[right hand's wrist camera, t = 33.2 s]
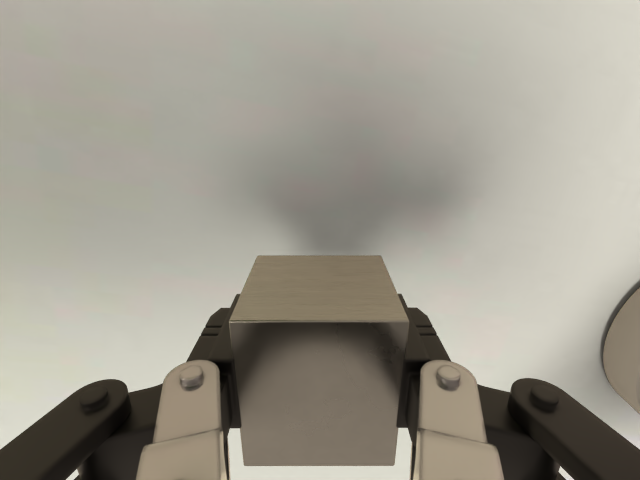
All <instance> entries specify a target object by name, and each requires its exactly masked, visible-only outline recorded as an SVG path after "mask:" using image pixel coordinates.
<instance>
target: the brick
mask: <svg viewBox="0 0 640 480" xmlns="http://www.w3.org/2000/svg"><path fill="white" fill-rule="evenodd" d="M229 328H230V337H231V347H232V357H233V359H234V360H235V370H236V379H237V389H238V399H239V408H240V418H241V428H240V433H241V442H242V452H243V462H244V466H393V465H394V464H395V455H396V445H397V435H398V428H397V427H396V425H397V415H398V405H399V395H400V385H401V375H402V365H403V359H405V358H406V348H407V338H408V328H409V320H408V317H407V315H406V313H405V310H404V308H403V306H402V303H401V301H400V299H399V297H398V294H397V292H396V290H395V287H394V285H393V283H392V280H391V278H390V276H389V273H388V271H387V269H386V266H385V264H384V262H383V259H382V257H381V256H257V258H256V260H255V262H254V265H253V267H252V269H251V272H250V274H249V276H248V278H247V281H246V283H245V285H244V288H243V290H242V292H241V295H240V297H239V299H238V302H237V304H236V306H235V308H234V311H233V313H232V315H231V318H230V320H229Z"/></svg>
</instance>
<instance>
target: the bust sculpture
mask: <svg viewBox="0 0 640 480" xmlns="http://www.w3.org/2000/svg"><path fill="white" fill-rule="evenodd" d="M603 363H604V369H605V373H606V376H607V378H608V381H609V383H610V384H611V386H612V387H613V389H614V390H615V391H616V392H617V393H618V394H619V395H620V396H621V397H622V398H623V399H624V400H625V401H626V402H627V403H628V404H629V405H631V406H632V407H633V408H634V409H635V410H636V411H637V412H638V413H639V414H640V288H639V289H638V290H637V291H636V292H635V293H634V294H633V295H632V296H631V297H630V298H629V299H628V300H627V302H626V303H625V304H624V305H623V307H622V308H621V309H620V311H619V312H618V314H617V316H616V317H615V319H614V321H613V323H612V325H611V327H610V329H609V331H608V334H607V337H606V341H605V345H604V352H603Z"/></svg>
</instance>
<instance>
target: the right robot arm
mask: <svg viewBox="0 0 640 480" xmlns="http://www.w3.org/2000/svg"><path fill="white" fill-rule="evenodd" d="M240 295H241V294H237V295H236V297H235V299H234V301H233V303H232V305H231V308H221V309H219V310H218V311H217V312H215V313H214V314H213V315H212V316H211V317H210V318H209V320H208V322H207V324H206V327H205V328H204V330H203V332H202V333H201V336H200V337H199V339H198V341H197V343H196V345H195V347H194V348H193V350H192V352H191V354H190V356H189V358H188V360H187V361H186V363H183V364H181V365H179V366H177V367H175V368H174V369H173V370H171V371H170V372H169V373H168V374H167V376H166V377H165V379H164V382H163V384H160V385H158V386H155V387H151V388H147V389H143V390H138V391H134V392H130V393H128V389H127V386H126V384H125V383H123V382H122V381H120V380H115V379H107V380H101V381H97V382H94V383H91V384H88V385H86V386H84V387H82V388H81V389H79V390H77V391H76V392H74V393H73V394H72V395H70V396H69V397H68V398H67V399H65V400H64V401H63V402H61V403H60V404H59V405H58V406H56V407H55V408H54V409H52V410H51V411H50V412H48V413H47V414H46V415H45V416H43V417H42V418H41V419H39V420H38V421H37V422H35V423H34V424H33V425H32V426H30V427H29V428H28V429H26V430H25V431H24V432H23V433H21V434H20V435H19V436H17V437H16V438H15V439H13V440H12V441H11V442H10V443H8V444H7V445H6V446H4V447H3V448H2V449H1V450H0V480H66V479H67V478H68V477H69V476H70V475H71V474H72V473H73V472H74V471H75V470H76V469H77V470H78V473H79V475H78V476H77V477H76V478H75V479H74V480H230V461H229V446H228V438H227V436H228V433H229V429H230V428H241V418H240V408H239V399H238V389H237V379H236V370H235V360H234V359H233V357H232V347H231V337H230V328H229V320H230V318H231V315H232V313H233V311H234V308H235V306H236V304H237V302H238V299H239V297H240ZM398 297H399V299H400V301H401V303H402V306H403V308H404V310H405V313H406V315H407V317H408V320H409V328H408V338H407V348H406V358H405V359H403V365H402V375H401V385H400V395H399V405H398V415H397V425H396V427H397V428H408V430H409V434H410V437H411V441H412V446H411V461H410V480H566V479H565V478H564V477H563V476H562V475H561V474H560V473H559V472H558V471H559V468H560V466H561V467H562V468H563V469H564V470H565V471H566V472H567V473H568V474H569V475H570V476H571V477H572V478H573V479H574V480H640V450H639V449H638V448H637V447H636V446H634V445H633V444H632V443H630V442H629V441H628V440H626V439H625V438H624V437H623V436H621V435H620V434H619V433H617V432H616V431H615V430H614V429H612V428H611V427H610V426H608V425H607V424H606V423H604V422H603V421H602V420H601V419H599V418H598V417H597V416H595V415H594V414H593V413H592V412H590V411H589V410H588V409H586V408H585V407H584V406H582V405H581V404H580V403H579V402H577V401H576V400H575V399H573V398H572V397H571V396H570V395H568V394H567V393H566V392H564V391H563V390H561V389H560V388H558V387H556V386H554V385H552V384H550V383H548V382H545V381H542V380H538V379H532V378H524V379H519V380H517V381H515V382H514V383H513V384H512V387H511V391H510V392H505V391H501V390H497V389H493V388H488V387H484V386H481V385H478V384H477V382H476V379H475V377H474V376H473V374H472V373H471V372H470V371H469V370H467V369H466V368H465V367H463V366H461V365H459V364H457V363H454V362H451V360H450V358H449V356H448V354H447V352H446V351H445V349H444V347H443V345H442V343H441V341H440V339H439V337H438V336H437V335H436V332H435V330H434V328H433V327H432V324H431V322H430V320H429V318H428V316H427V315H425V314H424V313H423V312H422V311H420V310H419V309H418V308H408V307H407V305H406V303H405V301H404V299H403V296H402V294H398Z"/></svg>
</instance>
